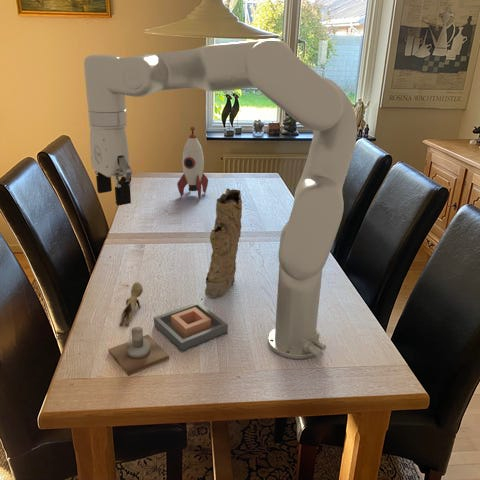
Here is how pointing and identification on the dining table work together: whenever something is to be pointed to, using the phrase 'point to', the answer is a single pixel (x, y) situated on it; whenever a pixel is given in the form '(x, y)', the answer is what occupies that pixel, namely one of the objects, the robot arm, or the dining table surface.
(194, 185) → the toy
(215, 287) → the tan log
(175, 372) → the dining table surface
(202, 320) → the ring
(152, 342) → the brown piece
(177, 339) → the tray
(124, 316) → the figurine
